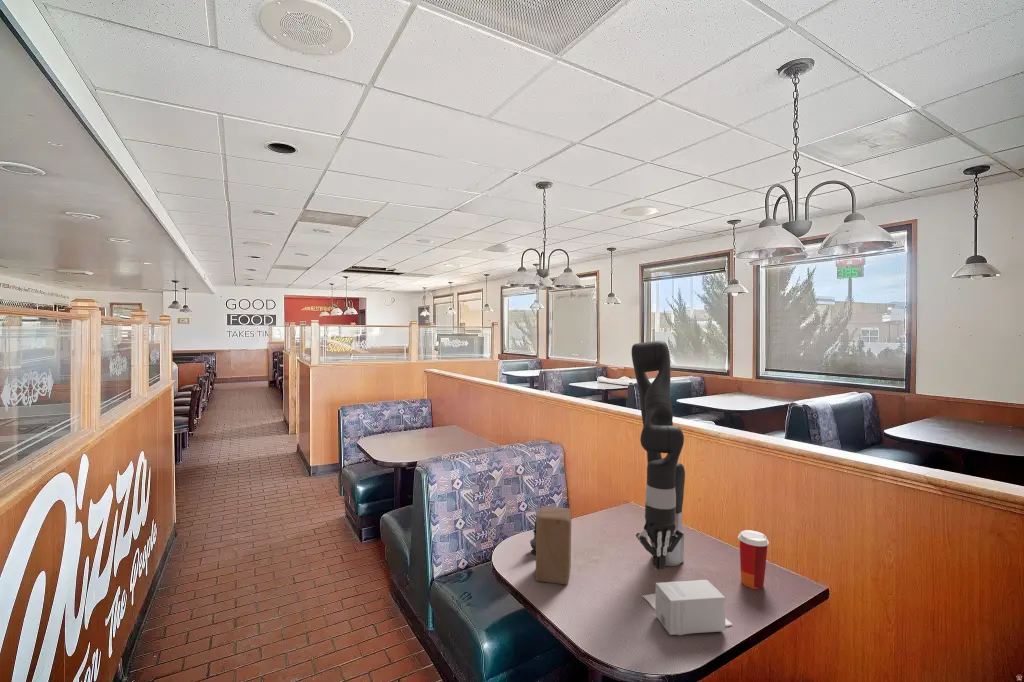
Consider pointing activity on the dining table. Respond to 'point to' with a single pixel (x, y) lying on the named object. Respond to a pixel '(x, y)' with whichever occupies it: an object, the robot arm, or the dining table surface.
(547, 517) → the wooden block
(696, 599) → the supplement box
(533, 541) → the salt shaker
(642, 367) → the robot arm
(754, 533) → the coffee cup
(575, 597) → the dining table surface
